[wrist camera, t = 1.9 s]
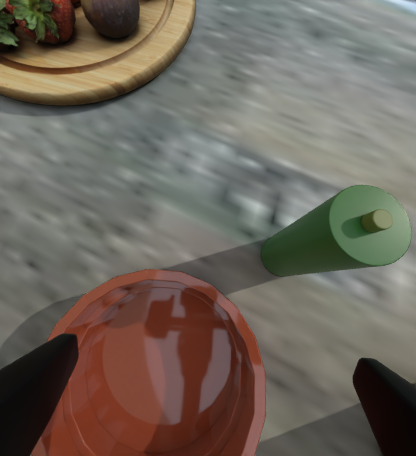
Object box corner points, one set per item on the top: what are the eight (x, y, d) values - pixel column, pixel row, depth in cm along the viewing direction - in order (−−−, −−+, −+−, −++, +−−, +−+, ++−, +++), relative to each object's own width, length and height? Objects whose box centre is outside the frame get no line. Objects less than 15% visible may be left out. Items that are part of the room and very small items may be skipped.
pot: (282, 390, 20) (312, 428, 15) (123, 515, 18) (91, 615, 12) (192, 244, 23) (190, 231, 18) (44, 332, 21) (-9, 349, 15)
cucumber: (309, 262, 23) (446, 233, 10) (277, 284, 22) (381, 283, 10) (285, 228, 24) (385, 163, 11) (253, 248, 23) (320, 204, 10)
